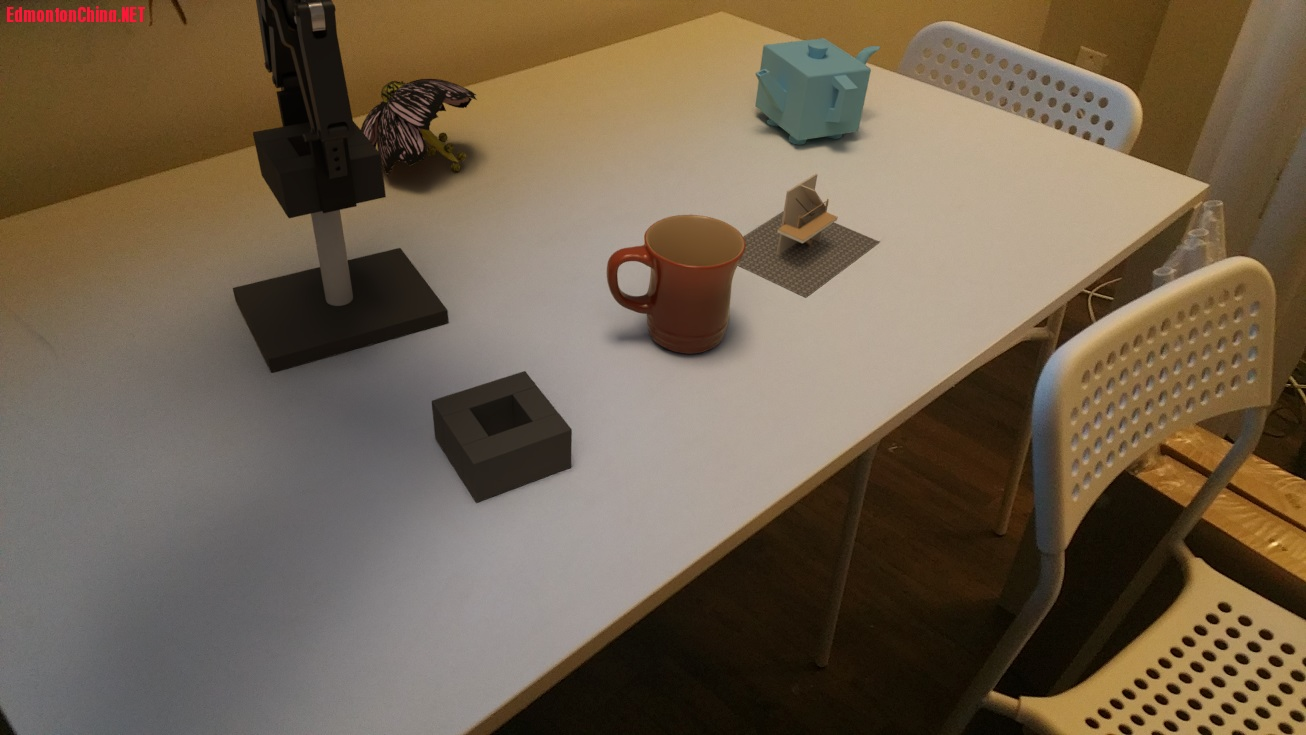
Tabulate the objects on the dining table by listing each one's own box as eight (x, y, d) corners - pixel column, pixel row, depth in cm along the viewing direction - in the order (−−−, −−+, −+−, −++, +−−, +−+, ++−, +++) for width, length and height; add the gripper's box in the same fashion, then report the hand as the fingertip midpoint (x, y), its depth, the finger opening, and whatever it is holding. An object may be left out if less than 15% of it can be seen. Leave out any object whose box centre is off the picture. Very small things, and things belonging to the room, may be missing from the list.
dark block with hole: (288, 219, 78) (279, 173, 76) (261, 175, 83) (252, 131, 81) (386, 197, 82) (380, 153, 79) (354, 157, 87) (348, 114, 84)
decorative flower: (399, 49, 116) (480, 47, 106) (445, 134, 123) (525, 140, 113) (308, 118, 109) (386, 122, 99) (362, 203, 116) (440, 216, 107)
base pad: (271, 373, 83) (243, 252, 76) (235, 301, 91) (207, 184, 84) (448, 323, 90) (439, 207, 83) (401, 260, 98) (389, 149, 91)
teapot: (720, 113, 131) (729, 28, 124) (833, 97, 137) (848, 16, 130) (781, 165, 120) (795, 75, 113) (901, 145, 126) (921, 59, 119)
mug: (718, 305, 95) (730, 211, 89) (743, 360, 89) (758, 263, 82) (596, 313, 93) (599, 218, 87) (612, 371, 86) (617, 272, 80)
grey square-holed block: (476, 503, 73) (473, 464, 71) (434, 438, 78) (431, 400, 76) (571, 467, 77) (572, 429, 74) (526, 408, 82) (525, 370, 79)
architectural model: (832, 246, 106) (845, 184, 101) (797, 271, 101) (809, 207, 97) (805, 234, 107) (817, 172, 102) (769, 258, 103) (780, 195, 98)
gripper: (378, -76, 63) (410, 232, 77) (285, -146, 77) (328, 126, 91) (257, -65, 60) (315, 254, 74) (183, -141, 73) (243, 142, 87)
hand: (322, 184), depth 82 cm, fingers closed on dark block with hole, 8 cm apart
